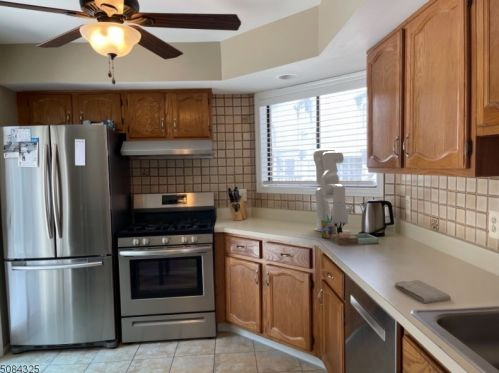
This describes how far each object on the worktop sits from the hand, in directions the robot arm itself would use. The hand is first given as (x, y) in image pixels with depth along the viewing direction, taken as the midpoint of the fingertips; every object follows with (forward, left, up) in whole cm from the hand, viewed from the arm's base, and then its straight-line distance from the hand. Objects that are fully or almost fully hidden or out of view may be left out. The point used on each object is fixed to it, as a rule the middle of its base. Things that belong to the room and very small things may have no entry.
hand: (339, 233), depth 219 cm
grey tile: (0, +4, -1) cm, 4 cm away
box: (+3, +14, -5) cm, 15 cm away
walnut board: (+3, +2, -5) cm, 6 cm away
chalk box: (-14, -1, -5) cm, 15 cm away
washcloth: (+88, -4, -6) cm, 89 cm away
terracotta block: (+6, +1, -1) cm, 6 cm away
